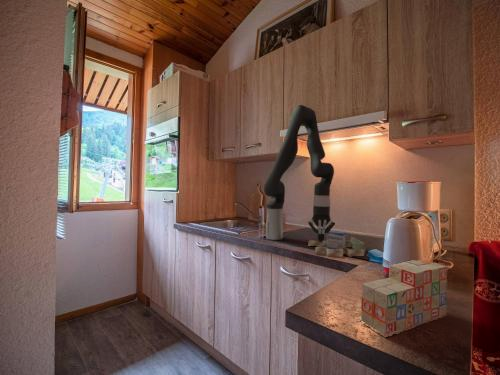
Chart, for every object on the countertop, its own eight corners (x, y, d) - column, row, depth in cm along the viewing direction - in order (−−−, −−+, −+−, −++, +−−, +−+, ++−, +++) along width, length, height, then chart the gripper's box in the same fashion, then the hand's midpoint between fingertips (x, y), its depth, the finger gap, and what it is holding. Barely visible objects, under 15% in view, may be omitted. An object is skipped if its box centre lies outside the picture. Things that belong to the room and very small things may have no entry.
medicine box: (326, 250, 116) (326, 231, 116) (328, 248, 120) (328, 230, 120) (344, 252, 112) (344, 233, 112) (345, 250, 116) (345, 232, 116)
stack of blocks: (386, 340, 50) (386, 279, 49) (360, 324, 55) (361, 269, 55) (447, 316, 58) (447, 265, 58) (419, 304, 64) (420, 258, 64)
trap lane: (318, 256, 106) (318, 245, 105) (308, 246, 122) (308, 236, 122) (368, 256, 106) (369, 245, 106) (352, 246, 123) (352, 236, 123)
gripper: (333, 204, 119) (331, 239, 119) (305, 204, 119) (304, 239, 119) (338, 206, 111) (337, 243, 112) (309, 205, 111) (308, 243, 112)
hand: (320, 241), depth 116 cm, fingers closed
